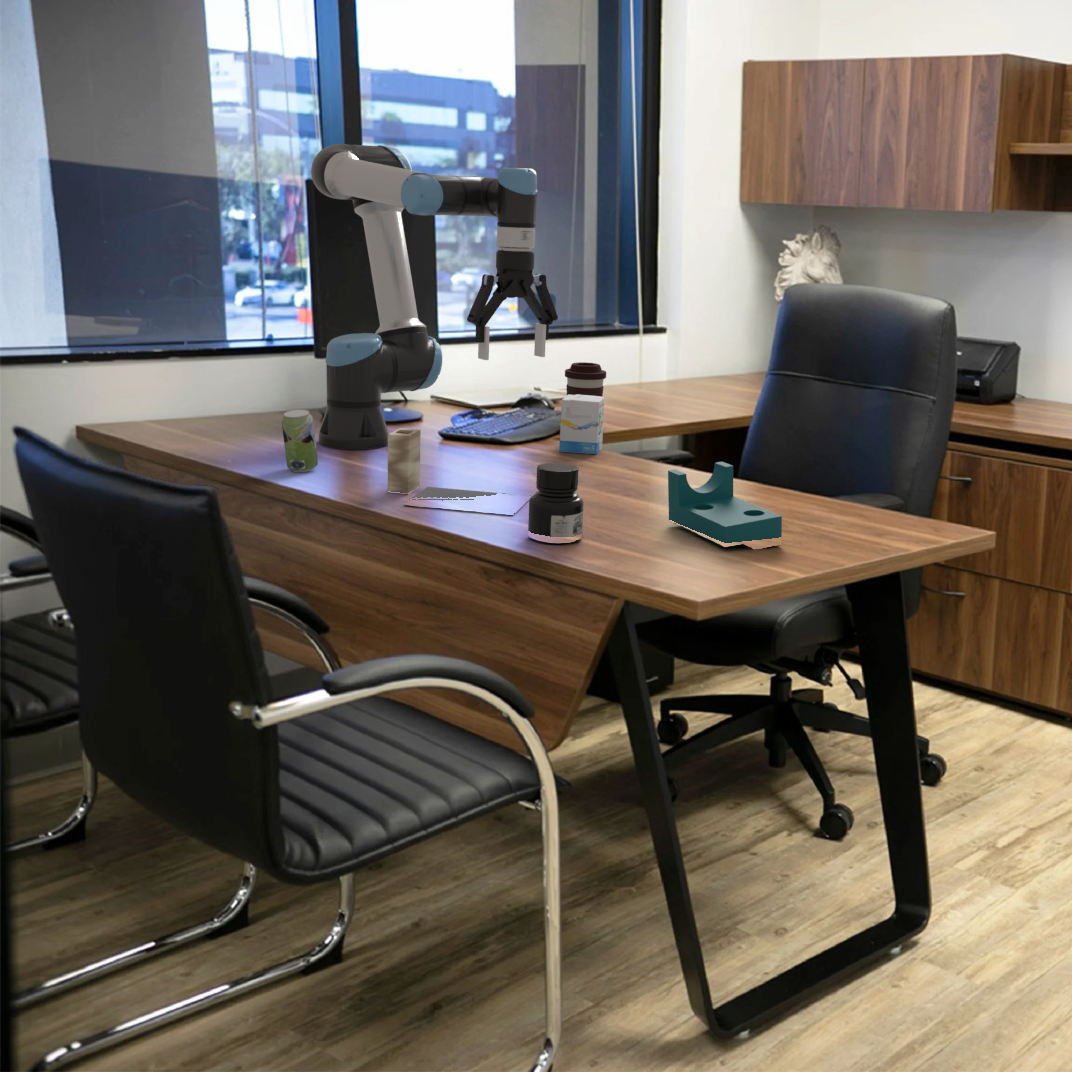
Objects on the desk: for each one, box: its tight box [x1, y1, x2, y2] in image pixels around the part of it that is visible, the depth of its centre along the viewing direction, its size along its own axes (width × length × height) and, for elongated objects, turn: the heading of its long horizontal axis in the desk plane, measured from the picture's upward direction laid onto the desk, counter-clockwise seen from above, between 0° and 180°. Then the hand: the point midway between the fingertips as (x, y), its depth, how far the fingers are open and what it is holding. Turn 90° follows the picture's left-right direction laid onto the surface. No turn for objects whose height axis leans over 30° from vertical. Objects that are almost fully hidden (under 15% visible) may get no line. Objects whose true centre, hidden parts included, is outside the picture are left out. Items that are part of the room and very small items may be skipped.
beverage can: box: [281, 408, 319, 473], centre depth 256 cm, size 6×7×12 cm
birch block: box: [387, 427, 421, 493], centre depth 243 cm, size 4×7×11 cm, turn 167°
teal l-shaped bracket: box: [667, 461, 783, 543], centre depth 219 cm, size 18×11×10 cm, turn 25°
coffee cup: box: [564, 361, 607, 397], centre depth 315 cm, size 10×10×15 cm
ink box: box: [558, 394, 605, 455], centre depth 287 cm, size 8×8×12 cm
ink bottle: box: [527, 462, 584, 537], centre depth 214 cm, size 10×9×12 cm
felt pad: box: [408, 486, 506, 501], centre depth 237 cm, size 20×14×1 cm
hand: (511, 357), depth 262 cm, fingers open, 13 cm apart
